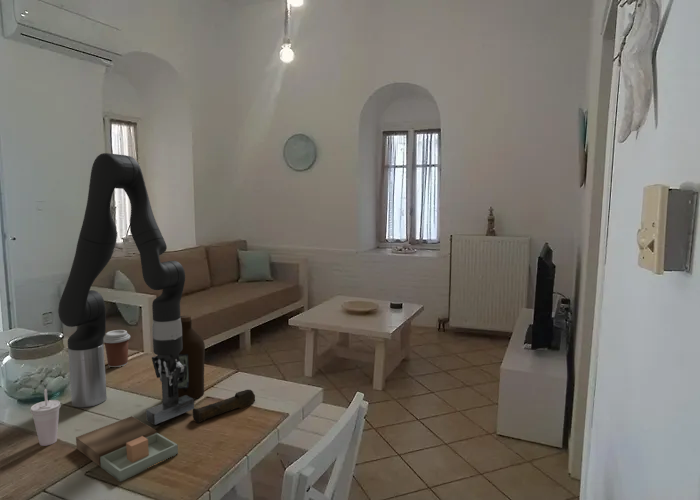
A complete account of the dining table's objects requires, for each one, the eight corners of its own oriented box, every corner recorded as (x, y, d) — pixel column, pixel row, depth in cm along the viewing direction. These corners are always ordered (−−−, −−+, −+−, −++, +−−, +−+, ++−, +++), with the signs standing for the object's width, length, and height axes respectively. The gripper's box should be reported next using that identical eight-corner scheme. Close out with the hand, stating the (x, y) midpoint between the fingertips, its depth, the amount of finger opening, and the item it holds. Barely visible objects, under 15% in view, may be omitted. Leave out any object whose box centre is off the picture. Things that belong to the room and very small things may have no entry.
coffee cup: (119, 358, 178) (117, 327, 177) (137, 362, 175) (135, 330, 173) (97, 366, 170) (95, 334, 169) (116, 370, 167) (114, 337, 165)
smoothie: (41, 451, 115) (36, 396, 114) (27, 443, 119) (23, 390, 117) (68, 439, 121) (64, 387, 119) (55, 432, 124) (51, 381, 122)
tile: (126, 442, 111) (131, 446, 110) (142, 436, 114) (148, 439, 113) (126, 458, 112) (132, 462, 110) (143, 451, 115) (148, 455, 113)
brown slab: (76, 448, 117) (75, 437, 116) (132, 426, 128) (131, 416, 127) (99, 466, 109) (99, 454, 109) (156, 441, 120) (155, 430, 120)
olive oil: (185, 385, 155) (183, 310, 152) (213, 390, 151) (210, 313, 148) (162, 398, 145) (158, 318, 142) (190, 404, 141) (188, 322, 138)
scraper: (146, 420, 129) (144, 377, 127) (185, 404, 138) (184, 365, 137) (154, 424, 126) (152, 381, 125) (194, 408, 136) (192, 368, 134)
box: (100, 467, 109) (100, 456, 109) (157, 442, 120) (157, 432, 120) (120, 481, 104) (119, 471, 103) (177, 454, 115) (177, 444, 114)
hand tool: (197, 426, 129) (197, 409, 128) (191, 420, 132) (191, 404, 131) (259, 406, 141) (259, 391, 141) (252, 401, 144) (252, 386, 144)
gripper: (140, 333, 131) (143, 393, 133) (169, 343, 122) (172, 407, 124) (165, 327, 137) (168, 384, 139) (194, 336, 128) (197, 397, 130)
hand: (170, 395), depth 131 cm, fingers closed on scraper, 3 cm apart
